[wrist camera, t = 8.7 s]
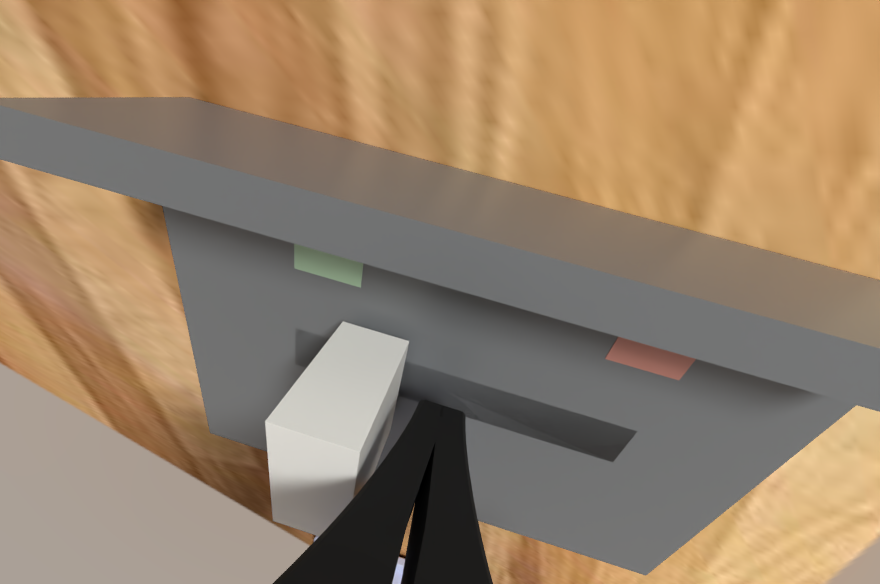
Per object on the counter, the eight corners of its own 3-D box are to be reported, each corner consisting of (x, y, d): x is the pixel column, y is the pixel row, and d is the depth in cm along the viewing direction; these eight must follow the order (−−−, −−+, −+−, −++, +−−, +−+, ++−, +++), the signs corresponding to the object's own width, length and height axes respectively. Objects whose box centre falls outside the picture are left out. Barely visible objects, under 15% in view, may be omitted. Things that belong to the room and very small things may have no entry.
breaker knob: (390, 429, 12) (346, 545, 9) (335, 412, 12) (272, 520, 9) (409, 340, 10) (359, 452, 7) (342, 321, 10) (265, 421, 7)
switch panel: (635, 535, 15) (674, 683, 11) (234, 406, 16) (147, 501, 13) (897, 284, 9) (1207, 439, 5) (189, 97, 10) (-27, 97, 6)
